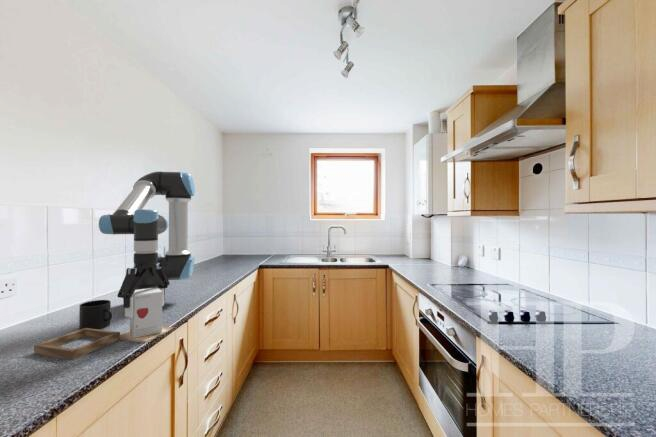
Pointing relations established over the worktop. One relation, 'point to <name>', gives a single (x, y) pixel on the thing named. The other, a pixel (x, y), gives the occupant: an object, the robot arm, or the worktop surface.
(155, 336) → the light wooden block
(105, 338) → the walnut frame
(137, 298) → the supplement box
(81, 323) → the mug
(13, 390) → the worktop surface
